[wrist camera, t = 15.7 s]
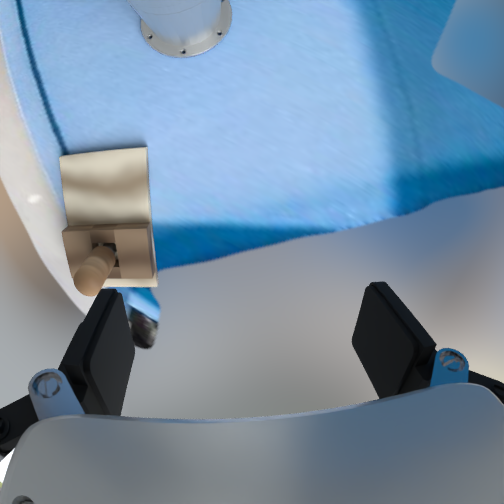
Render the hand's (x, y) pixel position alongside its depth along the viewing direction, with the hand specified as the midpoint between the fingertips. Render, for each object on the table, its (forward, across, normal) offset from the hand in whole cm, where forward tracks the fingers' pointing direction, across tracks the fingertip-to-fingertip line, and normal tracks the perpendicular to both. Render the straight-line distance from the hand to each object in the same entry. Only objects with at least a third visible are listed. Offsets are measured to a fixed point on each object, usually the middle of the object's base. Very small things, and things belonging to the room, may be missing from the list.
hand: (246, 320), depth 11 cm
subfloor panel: (+34, +18, +8) cm, 40 cm away
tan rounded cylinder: (+33, +18, +12) cm, 40 cm away
